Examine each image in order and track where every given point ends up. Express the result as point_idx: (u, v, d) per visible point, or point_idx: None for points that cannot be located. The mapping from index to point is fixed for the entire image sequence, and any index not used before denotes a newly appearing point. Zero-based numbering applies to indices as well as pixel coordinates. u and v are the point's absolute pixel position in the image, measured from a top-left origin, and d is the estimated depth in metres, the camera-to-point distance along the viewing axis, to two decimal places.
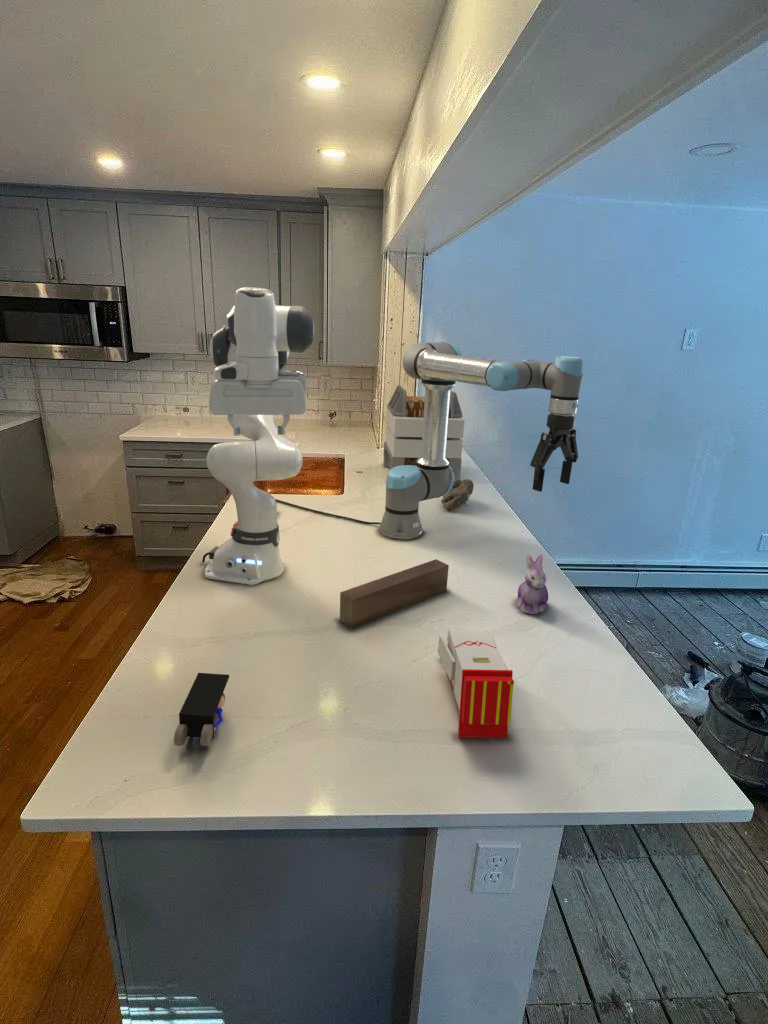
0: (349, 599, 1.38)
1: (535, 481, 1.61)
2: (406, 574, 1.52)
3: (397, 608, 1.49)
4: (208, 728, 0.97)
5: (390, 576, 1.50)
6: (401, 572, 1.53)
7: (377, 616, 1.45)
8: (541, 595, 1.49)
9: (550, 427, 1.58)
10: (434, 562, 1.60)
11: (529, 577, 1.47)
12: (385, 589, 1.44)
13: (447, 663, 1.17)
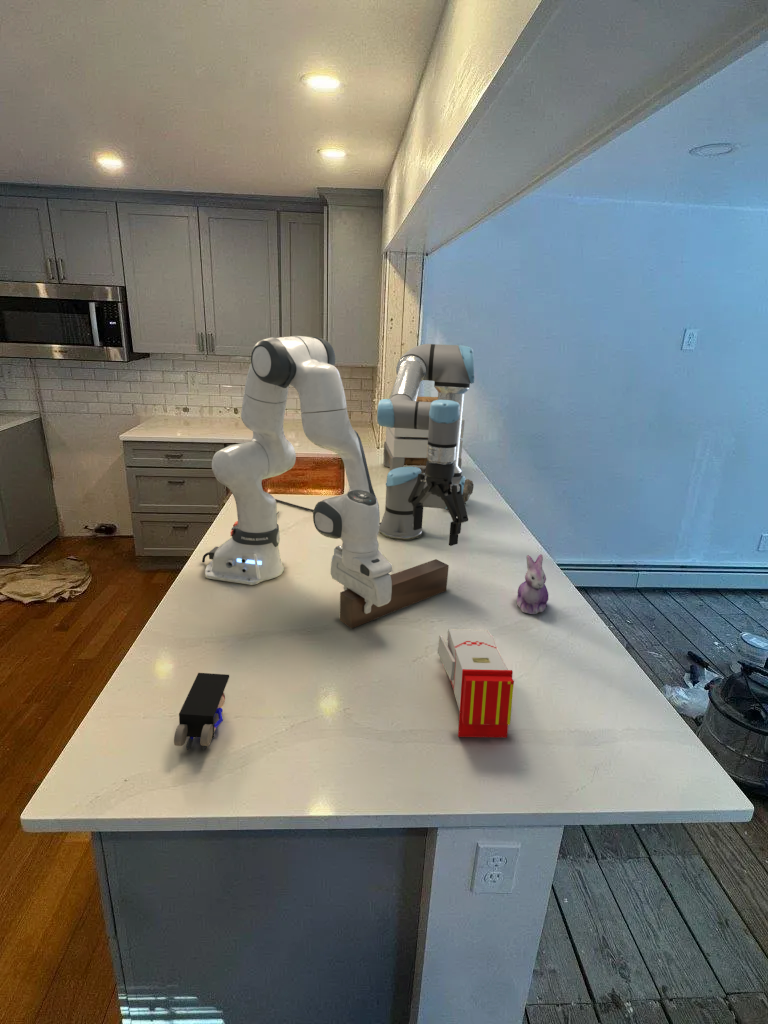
0: (349, 599, 1.38)
1: None
2: (406, 574, 1.52)
3: (397, 608, 1.49)
4: (208, 728, 0.97)
5: None
6: (401, 572, 1.53)
7: (377, 616, 1.45)
8: (541, 595, 1.49)
9: None
10: (434, 562, 1.60)
11: (529, 577, 1.47)
12: None
13: (447, 663, 1.17)
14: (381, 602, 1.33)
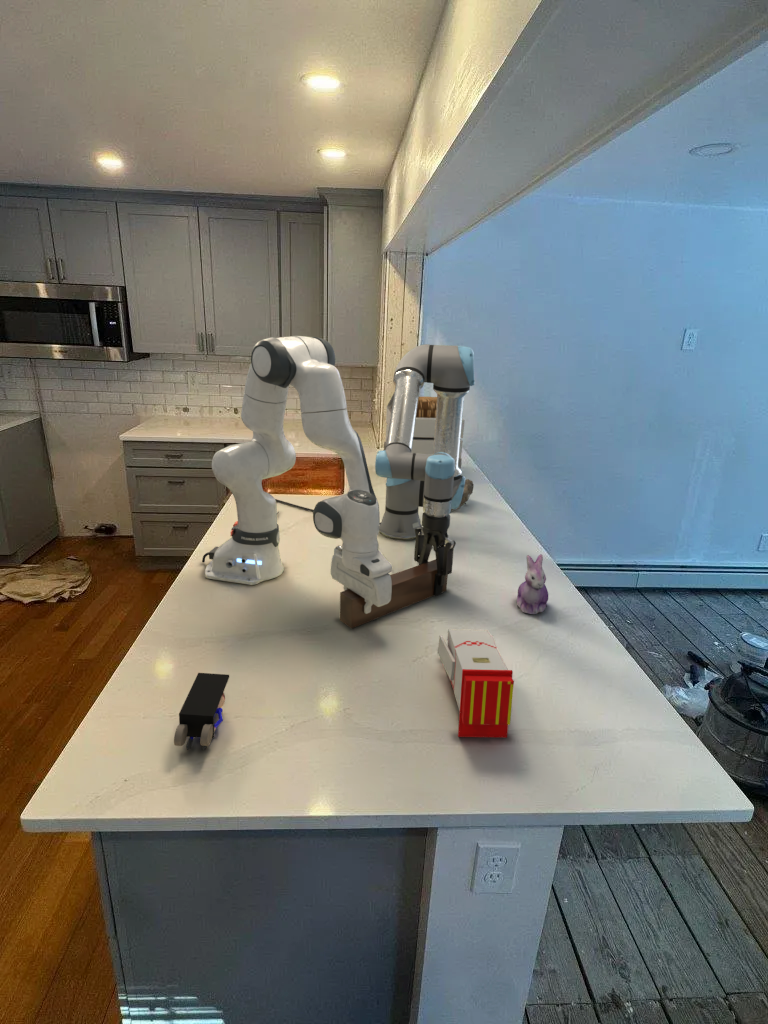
0: (349, 599, 1.38)
1: None
2: (406, 574, 1.52)
3: (397, 608, 1.49)
4: (208, 728, 0.97)
5: None
6: (401, 572, 1.53)
7: (377, 616, 1.45)
8: (541, 595, 1.49)
9: None
10: (434, 562, 1.59)
11: (529, 577, 1.47)
12: None
13: (447, 663, 1.17)
14: (381, 602, 1.33)
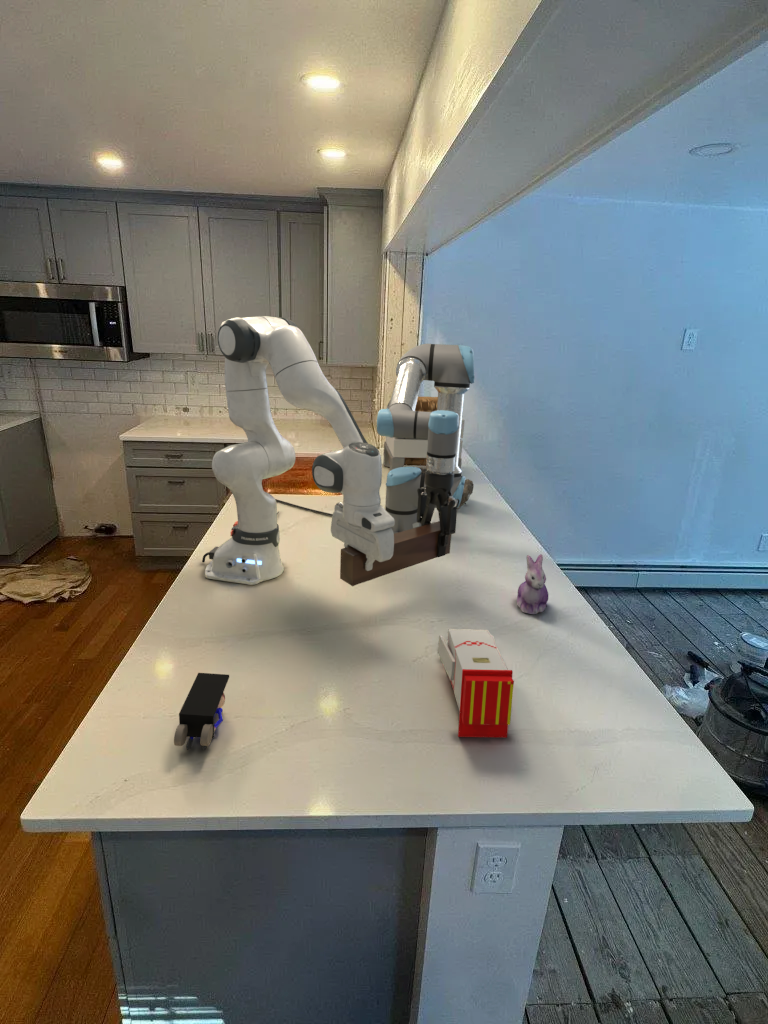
0: (350, 555, 1.34)
1: None
2: (409, 534, 1.48)
3: (399, 567, 1.45)
4: (208, 728, 0.97)
5: None
6: (403, 532, 1.49)
7: (378, 575, 1.41)
8: (541, 595, 1.49)
9: None
10: (437, 523, 1.56)
11: (529, 577, 1.47)
12: None
13: (447, 663, 1.17)
14: (383, 557, 1.29)
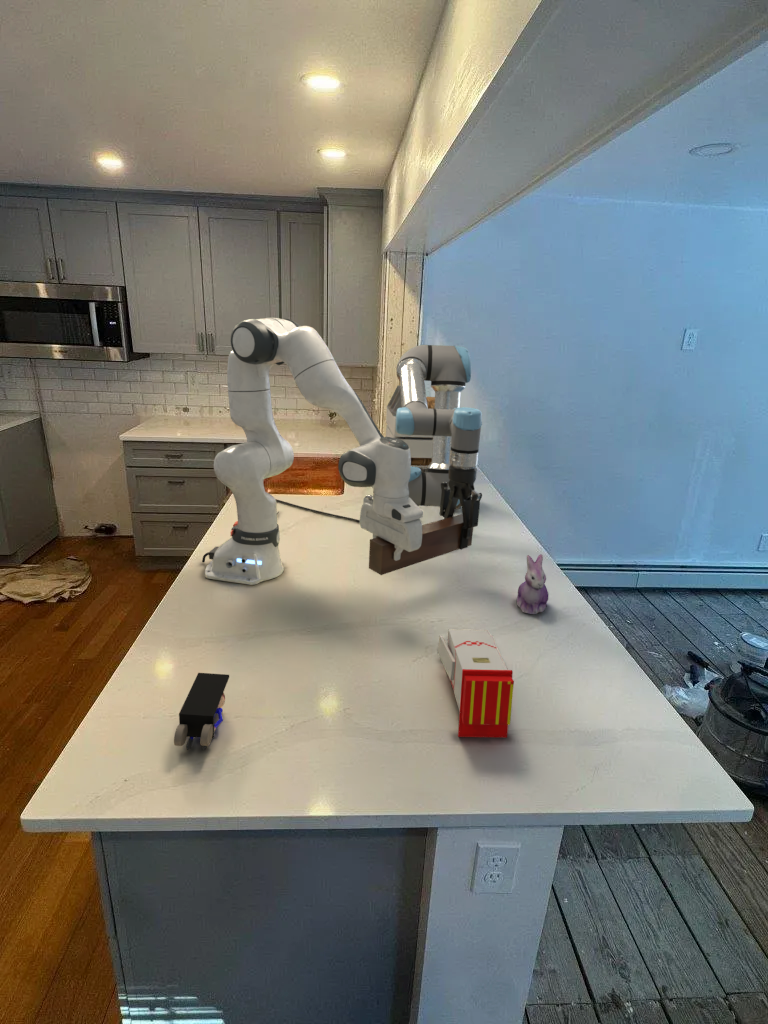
0: (379, 545, 1.40)
1: None
2: (433, 526, 1.53)
3: (424, 558, 1.51)
4: (208, 728, 0.97)
5: None
6: (428, 524, 1.54)
7: (405, 565, 1.46)
8: (541, 595, 1.49)
9: None
10: (459, 516, 1.61)
11: (529, 577, 1.47)
12: None
13: (447, 663, 1.17)
14: (412, 547, 1.35)
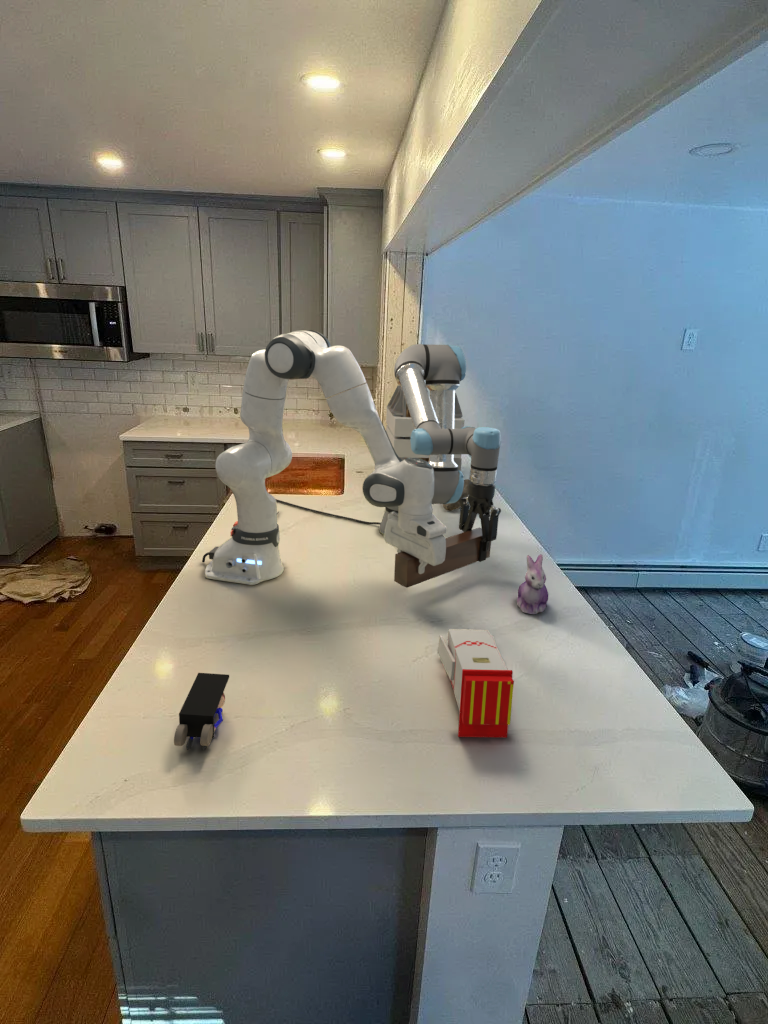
0: (404, 560, 1.47)
1: None
2: (454, 539, 1.61)
3: (446, 570, 1.58)
4: (208, 728, 0.97)
5: None
6: (449, 538, 1.62)
7: (429, 577, 1.54)
8: (541, 595, 1.49)
9: None
10: (478, 530, 1.69)
11: (529, 577, 1.47)
12: None
13: (447, 663, 1.17)
14: (436, 561, 1.42)
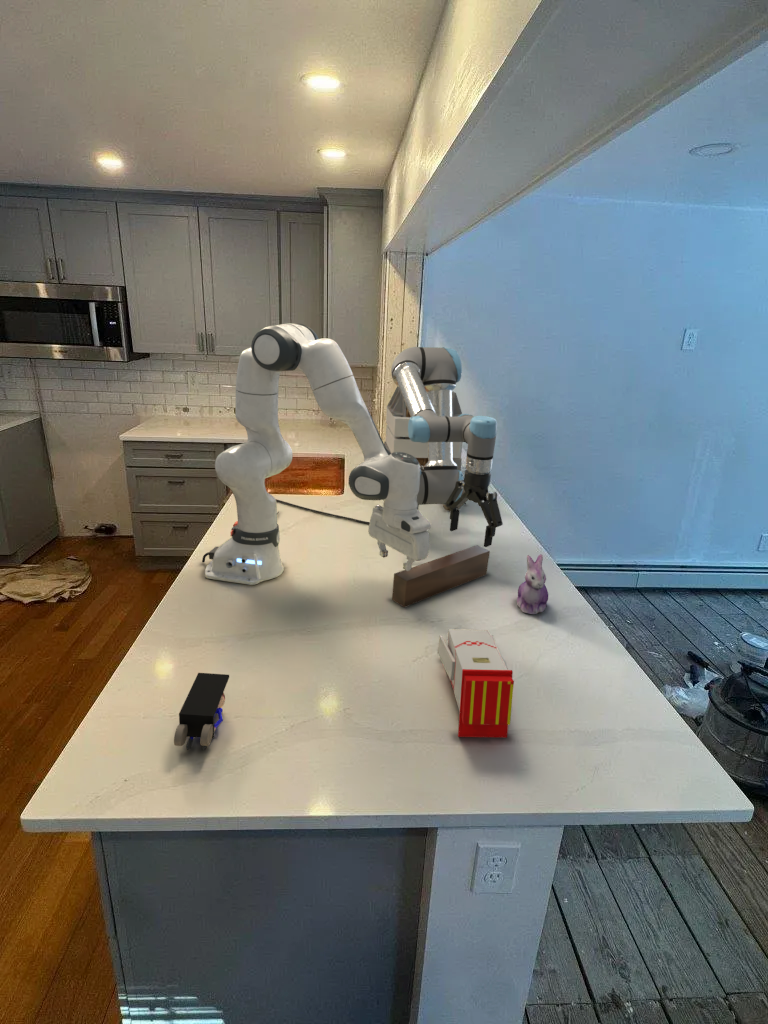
0: (403, 580, 1.49)
1: None
2: (452, 558, 1.62)
3: (443, 589, 1.60)
4: (208, 728, 0.97)
5: (437, 560, 1.61)
6: (447, 556, 1.63)
7: (426, 596, 1.56)
8: (541, 595, 1.49)
9: None
10: (476, 548, 1.70)
11: (529, 577, 1.47)
12: (435, 571, 1.55)
13: (447, 663, 1.17)
14: (419, 556, 1.42)
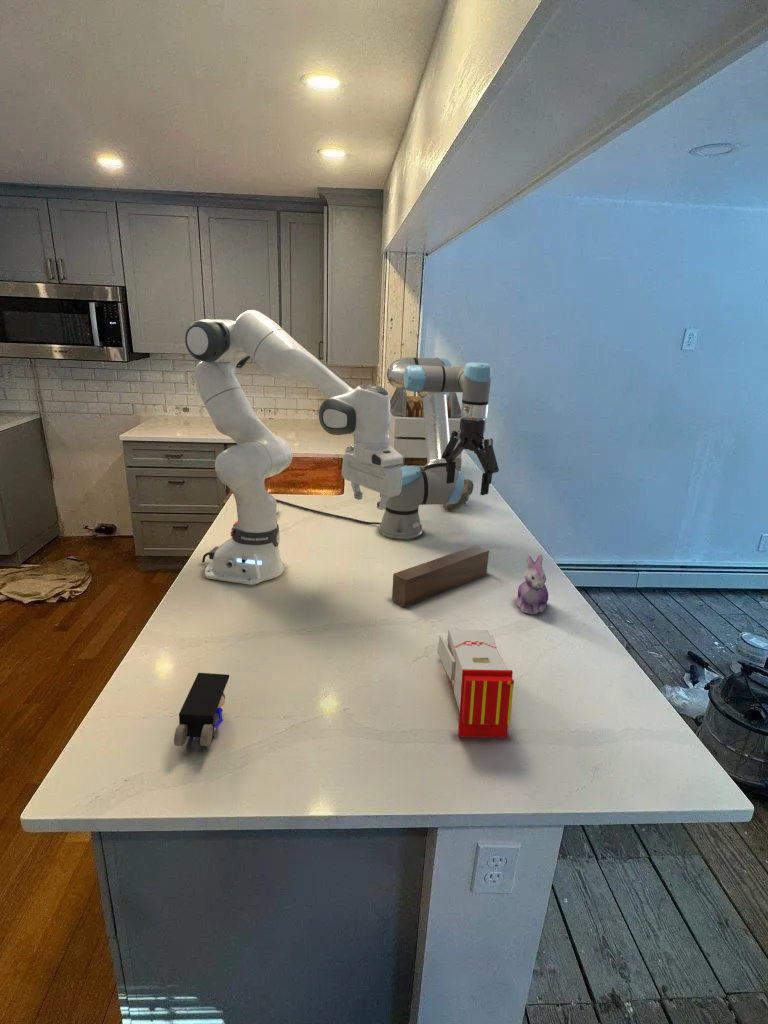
0: (402, 580, 1.49)
1: None
2: (451, 558, 1.63)
3: (443, 589, 1.60)
4: (208, 728, 0.97)
5: (437, 560, 1.61)
6: (446, 556, 1.64)
7: (426, 596, 1.56)
8: (541, 595, 1.49)
9: None
10: (475, 547, 1.71)
11: (529, 577, 1.47)
12: (434, 571, 1.55)
13: (447, 663, 1.17)
14: (392, 491, 1.36)
